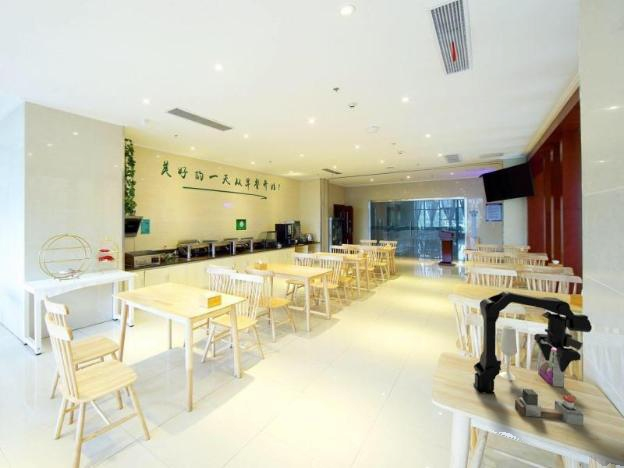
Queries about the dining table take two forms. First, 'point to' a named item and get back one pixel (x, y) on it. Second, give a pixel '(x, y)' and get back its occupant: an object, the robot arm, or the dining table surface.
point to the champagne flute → (508, 348)
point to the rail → (544, 411)
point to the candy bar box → (550, 369)
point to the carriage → (531, 403)
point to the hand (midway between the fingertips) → (554, 365)
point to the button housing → (570, 414)
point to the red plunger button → (568, 401)
